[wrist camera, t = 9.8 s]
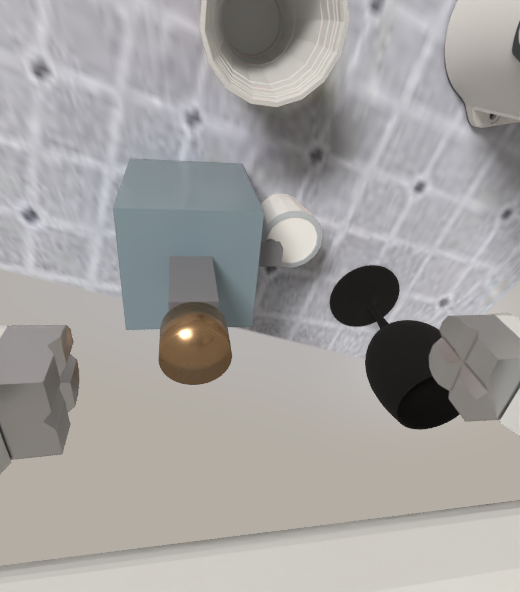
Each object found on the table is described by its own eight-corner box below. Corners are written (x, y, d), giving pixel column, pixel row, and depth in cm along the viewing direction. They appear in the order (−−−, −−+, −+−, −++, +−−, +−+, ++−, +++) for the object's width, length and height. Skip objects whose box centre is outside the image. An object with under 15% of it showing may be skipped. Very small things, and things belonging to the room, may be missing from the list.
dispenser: (268, 165, 46) (322, 250, 29) (258, 259, 53) (298, 374, 36) (129, 158, 43) (99, 248, 26) (137, 258, 50) (117, 384, 33)
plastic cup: (201, 92, 41) (209, 114, 31) (185, -48, 35) (188, -75, 25) (306, 84, 42) (345, 103, 33) (308, -53, 36) (357, -80, 26)
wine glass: (325, 328, 61) (379, 440, 45) (333, 267, 55) (399, 370, 39) (390, 322, 63) (466, 428, 46) (405, 262, 57) (498, 359, 41)
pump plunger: (219, 251, 35) (233, 329, 26) (217, 297, 38) (229, 382, 29) (162, 250, 34) (157, 331, 26) (164, 298, 37) (160, 386, 28)
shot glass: (283, 250, 53) (296, 278, 47) (240, 223, 50) (248, 249, 44) (318, 208, 50) (336, 232, 44) (274, 176, 47) (288, 198, 41)
